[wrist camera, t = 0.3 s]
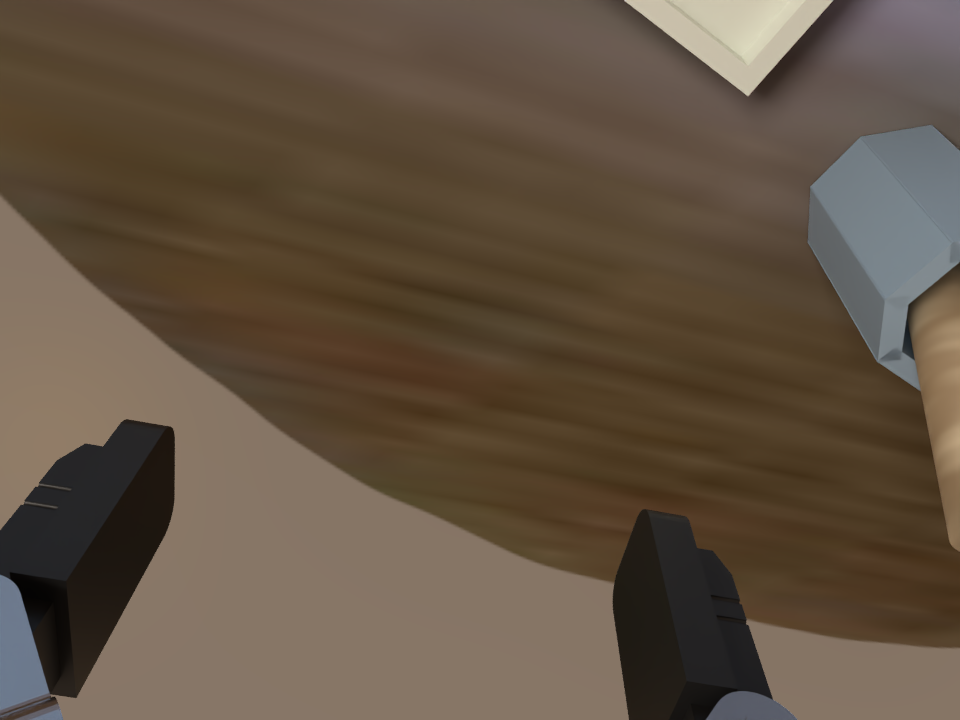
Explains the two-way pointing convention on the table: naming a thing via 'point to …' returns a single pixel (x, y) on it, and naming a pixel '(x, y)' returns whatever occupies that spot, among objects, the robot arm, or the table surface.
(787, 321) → the table surface
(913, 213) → the cup
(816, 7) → the tray
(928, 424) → the pin
